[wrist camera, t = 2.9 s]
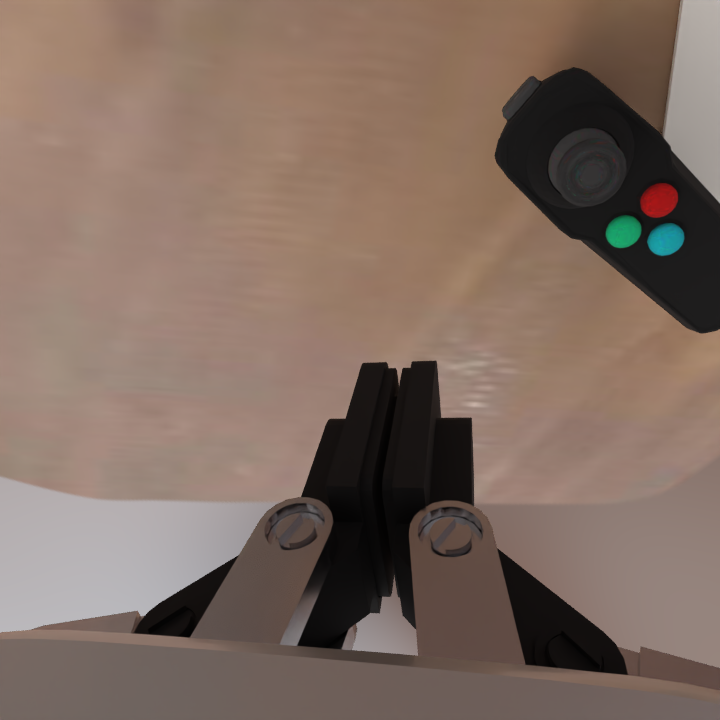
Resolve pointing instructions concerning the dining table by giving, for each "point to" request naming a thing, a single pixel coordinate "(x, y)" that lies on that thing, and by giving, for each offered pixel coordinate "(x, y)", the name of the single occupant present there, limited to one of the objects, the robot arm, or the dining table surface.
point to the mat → (696, 92)
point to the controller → (616, 190)
